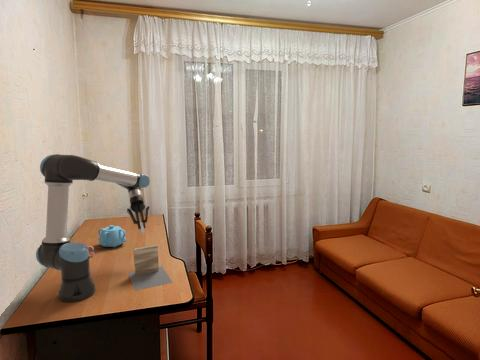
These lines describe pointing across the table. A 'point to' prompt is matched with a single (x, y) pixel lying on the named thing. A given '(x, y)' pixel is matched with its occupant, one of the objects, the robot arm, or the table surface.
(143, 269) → the plaque
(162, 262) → the table surface
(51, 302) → the table surface
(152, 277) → the mat
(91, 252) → the decorative key
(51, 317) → the table surface
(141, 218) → the robot arm
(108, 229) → the decorative pot
